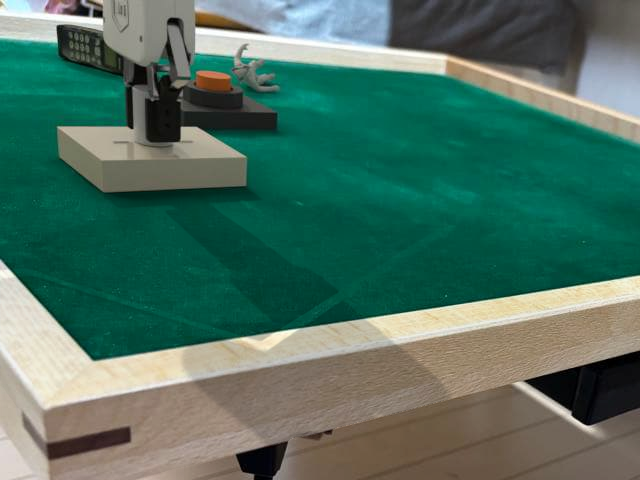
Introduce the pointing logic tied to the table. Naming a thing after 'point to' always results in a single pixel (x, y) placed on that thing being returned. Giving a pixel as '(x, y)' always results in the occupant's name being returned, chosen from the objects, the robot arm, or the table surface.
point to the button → (213, 81)
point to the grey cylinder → (141, 116)
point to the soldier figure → (251, 73)
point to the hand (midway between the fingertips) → (153, 133)
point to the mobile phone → (87, 48)
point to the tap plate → (150, 160)
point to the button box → (224, 110)
